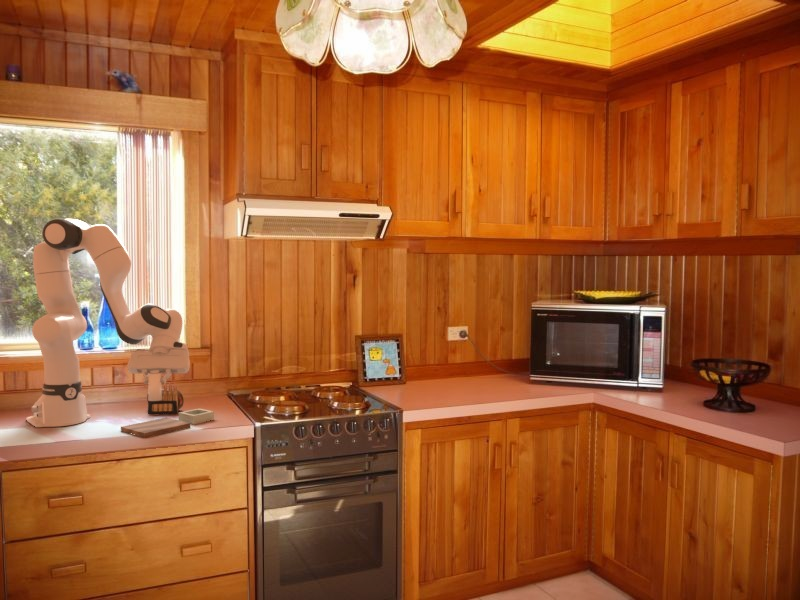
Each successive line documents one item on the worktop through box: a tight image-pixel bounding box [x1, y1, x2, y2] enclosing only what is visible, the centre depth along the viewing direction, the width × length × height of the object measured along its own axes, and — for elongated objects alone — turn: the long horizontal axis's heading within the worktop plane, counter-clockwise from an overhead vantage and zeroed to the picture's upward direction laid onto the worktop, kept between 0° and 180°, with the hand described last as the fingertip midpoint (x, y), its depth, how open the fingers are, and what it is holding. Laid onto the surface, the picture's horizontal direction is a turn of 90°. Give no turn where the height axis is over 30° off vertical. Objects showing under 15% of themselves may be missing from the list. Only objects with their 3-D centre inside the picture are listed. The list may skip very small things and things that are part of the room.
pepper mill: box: [147, 370, 163, 401], centre depth 218 cm, size 4×4×10 cm
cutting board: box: [120, 416, 191, 439], centre depth 219 cm, size 14×17×2 cm
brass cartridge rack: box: [146, 387, 185, 411], centre depth 248 cm, size 15×3×8 cm, turn 72°
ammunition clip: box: [147, 381, 179, 415], centre depth 242 cm, size 11×2×12 cm, turn 95°
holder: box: [178, 408, 215, 425], centre depth 231 cm, size 9×9×3 cm
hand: (154, 382), depth 217 cm, fingers closed on pepper mill, 4 cm apart
